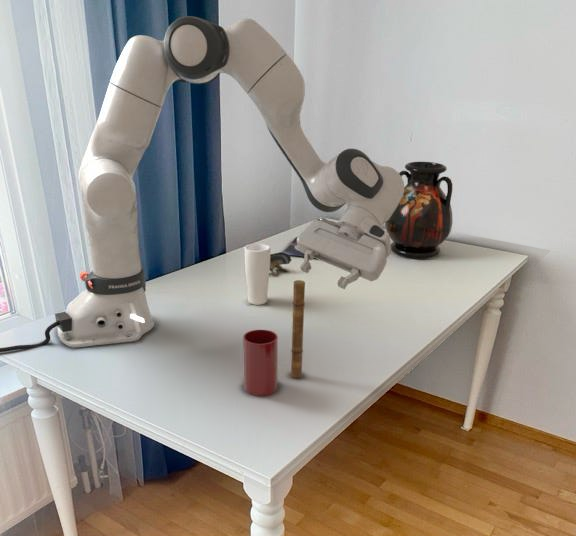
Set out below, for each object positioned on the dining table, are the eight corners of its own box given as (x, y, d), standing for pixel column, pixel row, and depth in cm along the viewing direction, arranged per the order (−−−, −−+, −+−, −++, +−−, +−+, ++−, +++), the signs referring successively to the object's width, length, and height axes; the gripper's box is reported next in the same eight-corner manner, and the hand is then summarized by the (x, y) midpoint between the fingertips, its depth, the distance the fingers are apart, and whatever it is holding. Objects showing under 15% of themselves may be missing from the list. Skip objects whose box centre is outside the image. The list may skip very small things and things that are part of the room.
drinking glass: (266, 307, 158) (267, 252, 151) (242, 305, 159) (241, 250, 152) (272, 298, 164) (273, 244, 156) (248, 295, 165) (247, 242, 158)
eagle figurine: (270, 276, 175) (295, 266, 178) (260, 254, 174) (285, 243, 178) (261, 282, 182) (285, 272, 185) (251, 261, 181) (275, 251, 185)
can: (252, 399, 119) (252, 347, 113) (238, 383, 124) (237, 333, 118) (282, 391, 122) (283, 340, 116) (267, 376, 127) (268, 327, 121)
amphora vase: (370, 254, 199) (379, 165, 185) (399, 238, 214) (409, 156, 200) (431, 267, 188) (445, 175, 174) (457, 250, 204) (471, 164, 189)
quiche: (280, 255, 195) (280, 243, 193) (295, 238, 212) (296, 226, 210) (343, 262, 191) (344, 250, 189) (354, 244, 208) (355, 232, 206)
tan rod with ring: (294, 379, 126) (296, 285, 115) (288, 374, 128) (291, 281, 117) (303, 377, 127) (307, 283, 116) (298, 372, 129) (301, 279, 118)
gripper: (314, 206, 132) (279, 252, 129) (395, 236, 124) (360, 286, 120) (318, 225, 138) (285, 269, 134) (397, 255, 129) (363, 304, 126)
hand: (321, 278), depth 127 cm, fingers open, 8 cm apart
